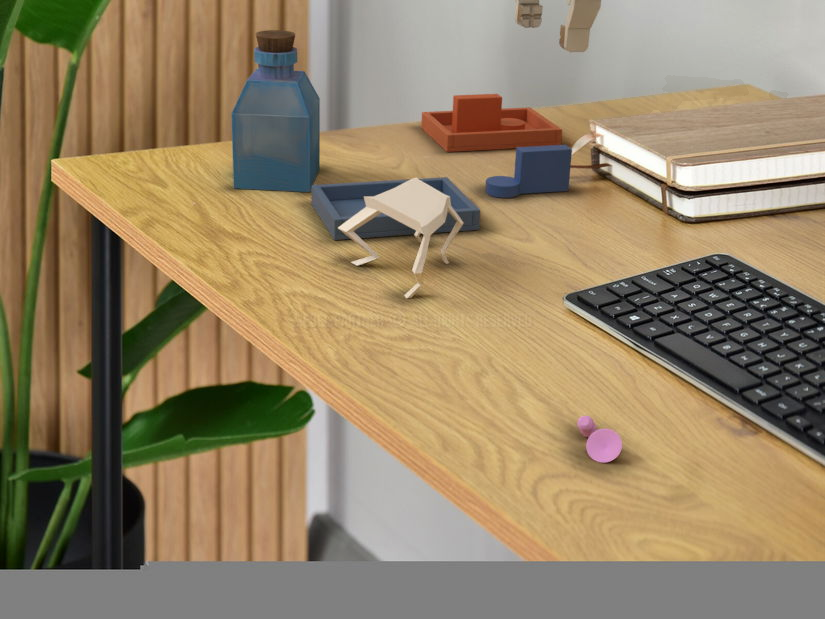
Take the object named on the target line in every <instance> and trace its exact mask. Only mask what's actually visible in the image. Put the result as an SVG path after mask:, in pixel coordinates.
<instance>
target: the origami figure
mask: <svg viewBox="0 0 825 619" xmlns="http://www.w3.org/2000/svg"><path fill="white" fill-rule="evenodd" d="M410 179H411V180H409V181H407V182H405V183H403V184H401V185H399V186H397V187H395V188H393V189H391V190H388V191H386V192H383V193H381V194H379V195H376V196H364V200H365V204H366V207H365V208H364V209H362V210H361V211H360V212H358V213H357V214H356V215H354V216H353V217H351V218H350V219H349V220H347V221H346V222H345V223H343V224H342V225H341V226H339V227H338V229H339V230H341V231H342V232H343V233H344V234H346V235H347V236H348V237H349V238H351V239H350V240H352V241H353V242H355V243H356V245H358V246H359V247H360V248H362V249H363V250H364V251H366V252H367V253H368V254H369V256H366V257H363V258H360V259H359V258H358V259H356V260H353V261H350V263H351V264H353V265H354V266H357V267H358V266H363V265H366V264H368V263H371V262H373V261H376V260H379V259H381V256H380V255H378V253H376V251H374V249H372V248H371V247H370V246H369V245H368V244H367V243H366V242H365V241H364V240H363V238H360V237H359V236H358V235H357V234H356V233H355V232H354V230H356V229H357V228H359V227H360V226H362V225H363V224H365V223H367V222H368V221H370V220H371V219H373V218H374V217H376V216H377V215H379V214H381V213H384V214H386V215H388V216H389V217H391V218H393V219H395V220H397V221H399V222H401V223H403V224H405V225H407V226H408V227H410V228H412V229H414V230H416V232H415V234H413V236H414V237H415V239H416V240H417V241H418V242H419V243H420V245H419V248H418V251H417V254H416V257H415V259H414V263H413V265H412V268H411V271H412V273H413V276H414V278H415V280H416V282H417V283H416V284H415V285H414V286H412V288H410V289H408V291H407V292H406V293H405V294H404V295H403V297H405V299H410V298H413V296H415V295H416V293H417V292H418V291H419V290H420V289H421V288H422V287H423V286H424V278H423V269H424V266H425V263H426V259H427V255H428V251H429V244H430V239H431V235H433V234H435V233H434V232H435V231H436V230H437V229H438V228H439V227H440V226H441V225H442V224H443V223H445V220H446V216H447V211H449V213H450V214H451V215H452V216H453V217H454V219H455V220H456V221H457V222H456V223H455V225H454V227H453V229H452V231H451V232H449V235H448V237H447V238H446V240H445V243H444V244H443V246H442V248H441V250H440V253H439V254H440V257H441V259H442V261H443V262H444V264H446V265H448V264H450V262H449V260H448V258H447V256H446V255H445V253H446V251H447V250H448V248H449V247H450V245H451V244H452V242H453V240H454V239H455V238H456V236H457V235H458V233H459V232H460V231H459V230H460V228H461V227H462V225H463V224H464V223H463V221H462V220H461V218H460V217H459V216H458V214H457V213H456V212H455V210H454V209H453V208H452V206H451V201H450V196H448V195H445V194H443V193H441V192H440V191H438V190H436V189H435V188H433V187H431V186H429V185H428V184H426V183H424V182H422V181H421V180H419V179H420V178H418V176H415V177H412V178H410ZM421 233H422V234H421ZM420 235H422V237H421V236H420Z"/></svg>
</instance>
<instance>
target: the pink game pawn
mask: <svg viewBox="0 0 825 619" xmlns="http://www.w3.org/2000/svg"><path fill="white" fill-rule="evenodd" d="M576 425H577V428H578V429H579V431H580V433H581V434H582V436H584V437H585V438H587V440H586V444H585V446H586V448H585V449H586V452H587V455H588V457H590V458H591V459H592V460H593V461H596V462H597V463H602V464H603V463H609V462H612V461H614V460H615V459H616V458H618V456H619V455H620V453H621V451H622V450H623V441H622V438H621V436H620V434H619V433H618V432H616V431H615V430H613V429H610V428H599V429H597V425H596V423H595V421H594V419H593V418H592V417H591V416H589V415H582V416H580V417H579V418H578V419H577V422H576Z"/></svg>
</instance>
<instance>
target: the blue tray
mask: <svg viewBox="0 0 825 619" xmlns="http://www.w3.org/2000/svg"><path fill="white" fill-rule="evenodd" d="M411 179H412V178H409V179H392V180H391V179H390V180H374V181H359V182H358V181H357V182H339V183H325V184H323V183H322V184H313V185H312V186H311V190H310V193H311V194H310V195H311V198H310V199H311V201H310V204H311V206H312V208H313V209H314V211H315V212H316V214H317V216H318V217H319V218H320V220H321V221H322V223H323V225H324V226H325V228H326V229H327V231H328V232H329V234H330V235H331V237H332V239H333V240H334V241H343V240H352V239H351V238H349V237H348V236H347V235H346V234H344V233H343V232H342V231H341V230H339V229H338V227H339V226H341V225H342V224H343V223H345V222H346V221H347V220H349V219H350V218H351V217H353V216H354V215H356V214H357V213H358V212H360V211H361V210H362V209H364V208H365V207H366V204H365V200H364V196H376V195H379V194H381V193H383V192H386V191H388V190H391V189H393V188H395V187H397V186H399V185H401V184H403V183H405V182H407V181H409V180H411ZM418 179H419V180H421V181H422V182H424V183H426V184H428V185H429V186H431V187H433V188H435V189H436V190H438V191H440V192H441V193H443V194H445V195H448V196H450V201H451V206H452V208H453V209H454V210H455V212H456V213H457V214H458V216H459V217H460V218H461V220H462V221H463V223H464V224H463V225H462V227H461V228H460V230H459V231H458V232H467V231H479V230H480V224H481V223H480V222H481V209H480V208H479V207H478V206H477V205H476V204H475V203H474V202H473V201H472V200H471V199H470V198H469V197H468V196H467V195H466V194H465V192H464V193H463V191H462V189H460V188H459V187H458V186H457V185H456V184H455V183H454V182H453V181H451V179H450V178H449V177H447V176H444V177H425V178H418ZM456 222H457V221H456V220H455V219H454V217H453V216H452V215H451V214H450V213H449V211H447V216H446V220H445V223H443V224H442V225H441V226H440V227H439V228H438V229H437V230H436V231H435V232H434V233H433V234H440V233H451V231H452V229H453V227H454V225H455V223H456ZM354 232H355V233H356V234H357V235H358V236H359V237H360V238H361V239H371V238H385V237H397V236H399V237H400V236H414V234H415V232H416V230H414V229H412V228H410V227H408V226H407V225H405V224H403V223H401V222H399V221H397V220H395V219H393V218H391V217H389V216H388V215H386V214H384V213H381V214H379V215H377V216H376V217H374V218H373V219H371V220H370V221H368V222H367V223H365V224H363V225H362V226H360V227H359V228H357V229H356V230H354ZM420 235H423V234H422V233H421V234H420Z"/></svg>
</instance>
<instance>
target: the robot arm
mask: <svg viewBox="0 0 825 619" xmlns="http://www.w3.org/2000/svg"><path fill="white" fill-rule="evenodd" d="M566 4H567V5H568V6H569V7H568V12H567V16H566V20H565V23H564V24H560V28H559V36H560V37H559V39H558V40H559V42H558V44H559V46H560V47H561V49H564V50H565V51H566V52H569V53H584V52H586V51H587V50H588V48H589V44H590V35H591V34H590V32H591V28H592V27H593V24H594V22H595V20H596V18H597V16H598V14H599V12H600V9H601V5H602V0H566ZM543 8H544V5H542V4H541V3H540V0H515V12H514V22H515V24H517V25H518V26H520V27H523V28H525V29H528V28H533V29H534V28H539V27H540V26H541V25H542V19H543V18H542V15H543Z"/></svg>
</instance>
